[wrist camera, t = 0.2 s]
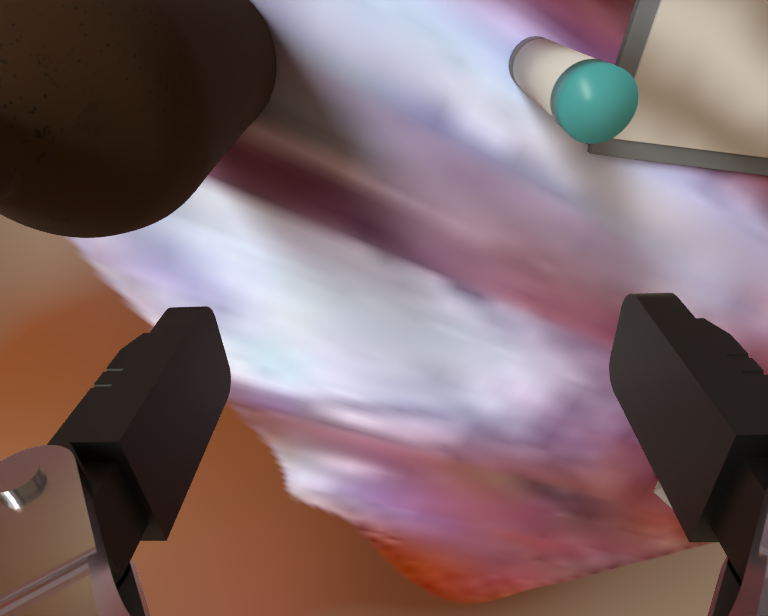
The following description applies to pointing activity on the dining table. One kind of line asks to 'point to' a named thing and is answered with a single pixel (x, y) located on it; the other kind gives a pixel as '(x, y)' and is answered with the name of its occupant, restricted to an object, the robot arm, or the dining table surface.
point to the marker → (575, 89)
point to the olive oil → (122, 106)
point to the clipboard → (697, 85)
